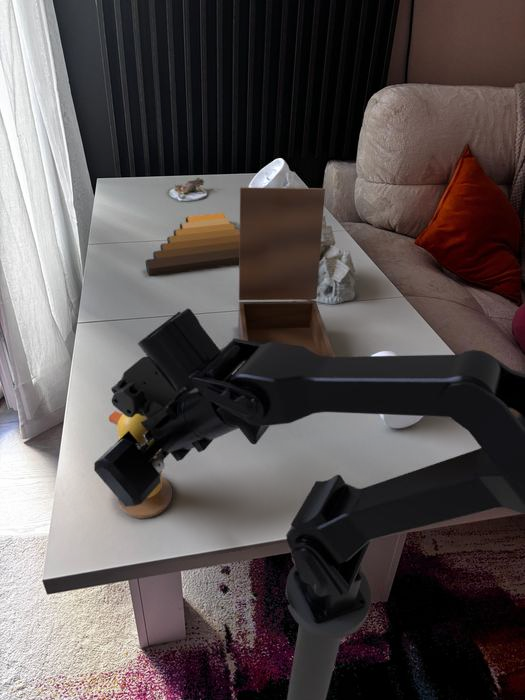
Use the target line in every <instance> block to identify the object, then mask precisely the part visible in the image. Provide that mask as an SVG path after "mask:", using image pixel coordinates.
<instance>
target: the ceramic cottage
mask: <svg viewBox="0 0 525 700" xmlns="http://www.w3.org/2000/svg"><path fill="white" fill-rule="evenodd" d="M335 245H336V239H335V235H334V231H333V227H332V225H328V226H327V221H326V215H324V214H323V222H322V236H321V249H320V262H319V275H318V288H317V299H311V300H310V301H316V303H318V302H319V303H323V304H326V305H329V304H330V305H336V304H342V303H343V302H348V301H353V300H354V299H355V297H356V293H355V286H356V282H358V281H359V279H360V278H359V275H358V274H356V269H355V266H354V262H353V258H352V255H351V252H350V250H346V251H343V252H342V251H341V250H340V248H338V247H336V246H335Z"/></svg>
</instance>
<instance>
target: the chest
mask: <svg viewBox="0 0 525 700" xmlns="http://www.w3.org/2000/svg"><path fill="white" fill-rule="evenodd" d="M237 319H238V322H237V323H238V326H237V331H238V339H241V340H246V341H250V342H255V343H260V344H265V343H270V342H276V343H283V344H290V345H298V346H303V347H305V348H307V349H309V350H310V351H312V352H314V353H315V354H317V355H320V356H327V357H336V356H335V353H334V350H333V347H332V344H331V341H330V338H329V335H328V333H327V329H326V327H325V326H326V325H325V323H324V321H323V317H322V314H321V312H320V309H319V306H318V302H317V301H314V300H271V301H239V302H238V318H237ZM244 362H245V361H244ZM244 362H243V363H244ZM243 363H242V364H243ZM242 364H241V365H242Z"/></svg>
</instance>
